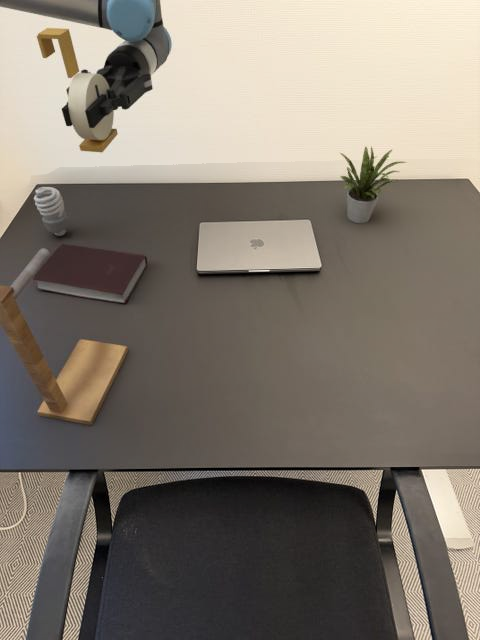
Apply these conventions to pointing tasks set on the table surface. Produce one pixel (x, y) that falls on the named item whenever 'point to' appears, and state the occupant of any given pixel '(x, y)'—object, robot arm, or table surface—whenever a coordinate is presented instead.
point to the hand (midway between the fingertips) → (77, 118)
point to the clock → (80, 92)
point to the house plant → (365, 186)
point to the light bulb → (52, 210)
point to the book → (91, 273)
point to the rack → (80, 369)
